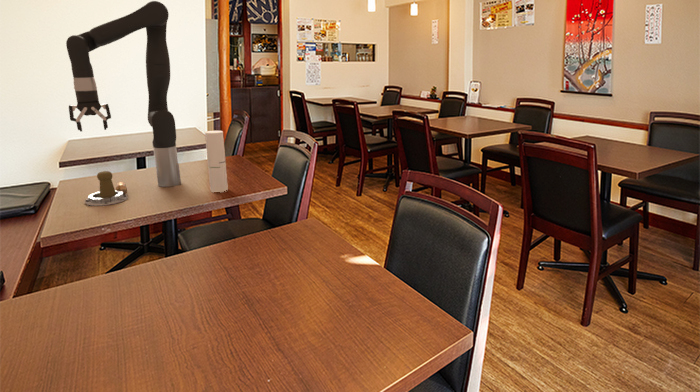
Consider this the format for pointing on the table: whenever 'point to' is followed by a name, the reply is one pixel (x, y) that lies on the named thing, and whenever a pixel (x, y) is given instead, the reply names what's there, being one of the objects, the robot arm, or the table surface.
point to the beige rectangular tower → (216, 161)
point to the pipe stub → (121, 187)
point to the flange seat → (105, 199)
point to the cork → (106, 184)
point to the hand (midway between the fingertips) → (93, 130)
